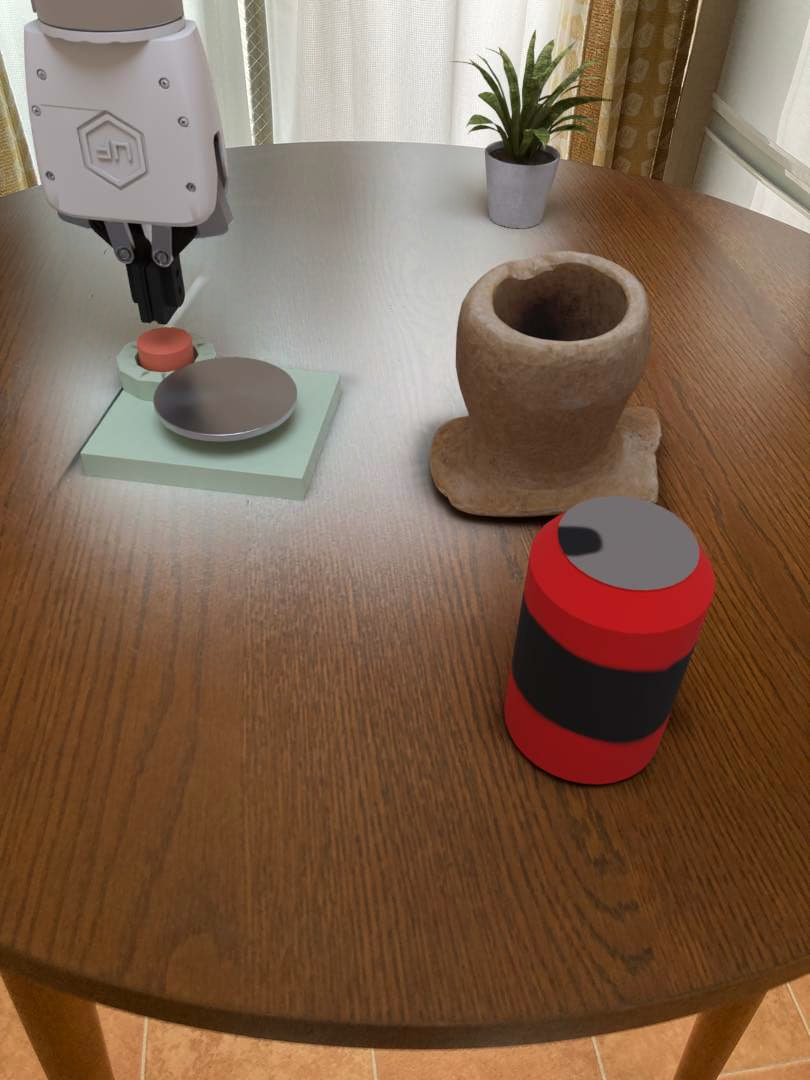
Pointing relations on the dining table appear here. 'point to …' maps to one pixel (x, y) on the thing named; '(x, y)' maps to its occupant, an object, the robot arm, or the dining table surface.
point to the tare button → (165, 349)
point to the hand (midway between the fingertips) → (161, 313)
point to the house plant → (526, 136)
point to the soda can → (605, 637)
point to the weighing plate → (225, 399)
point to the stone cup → (549, 390)
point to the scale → (224, 466)
